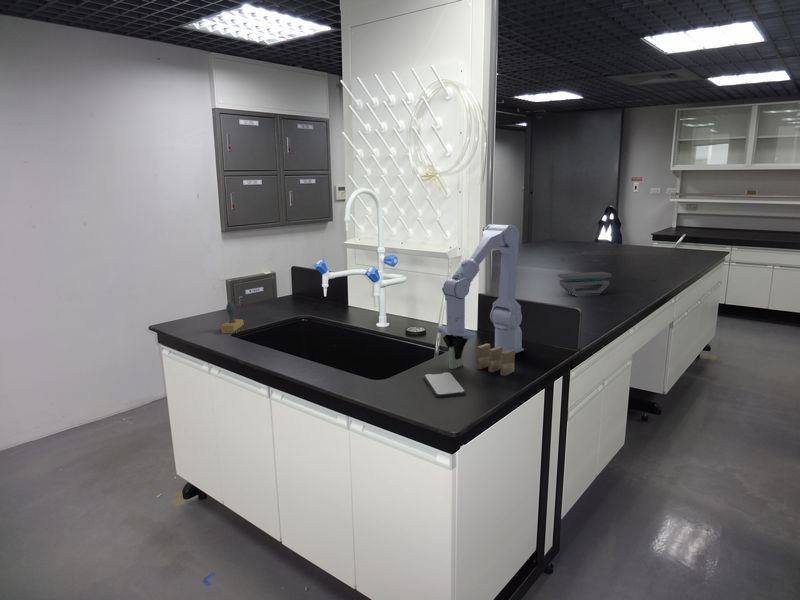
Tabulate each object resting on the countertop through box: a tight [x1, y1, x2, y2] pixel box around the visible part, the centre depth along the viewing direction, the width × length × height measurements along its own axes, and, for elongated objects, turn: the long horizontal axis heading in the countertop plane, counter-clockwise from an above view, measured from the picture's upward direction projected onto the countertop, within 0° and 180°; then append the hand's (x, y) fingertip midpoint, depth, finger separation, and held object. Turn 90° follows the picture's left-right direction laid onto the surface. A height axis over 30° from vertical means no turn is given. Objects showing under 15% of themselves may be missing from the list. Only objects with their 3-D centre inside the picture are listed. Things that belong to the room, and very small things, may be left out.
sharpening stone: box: [557, 271, 613, 294], centre depth 267 cm, size 25×8×11 cm, turn 98°
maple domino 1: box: [476, 343, 492, 370], centre depth 166 cm, size 2×5×7 cm, turn 134°
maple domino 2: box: [487, 346, 502, 373], centre depth 163 cm, size 2×5×7 cm, turn 134°
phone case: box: [423, 371, 467, 399], centre depth 151 cm, size 9×2×16 cm
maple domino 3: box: [500, 349, 516, 377], centre depth 160 cm, size 2×5×7 cm, turn 134°
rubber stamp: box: [220, 302, 245, 332], centre depth 217 cm, size 10×6×12 cm, turn 175°
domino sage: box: [448, 346, 464, 370], centre depth 167 cm, size 2×5×7 cm, turn 134°
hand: (455, 358), depth 167 cm, fingers closed on domino sage, 1 cm apart
